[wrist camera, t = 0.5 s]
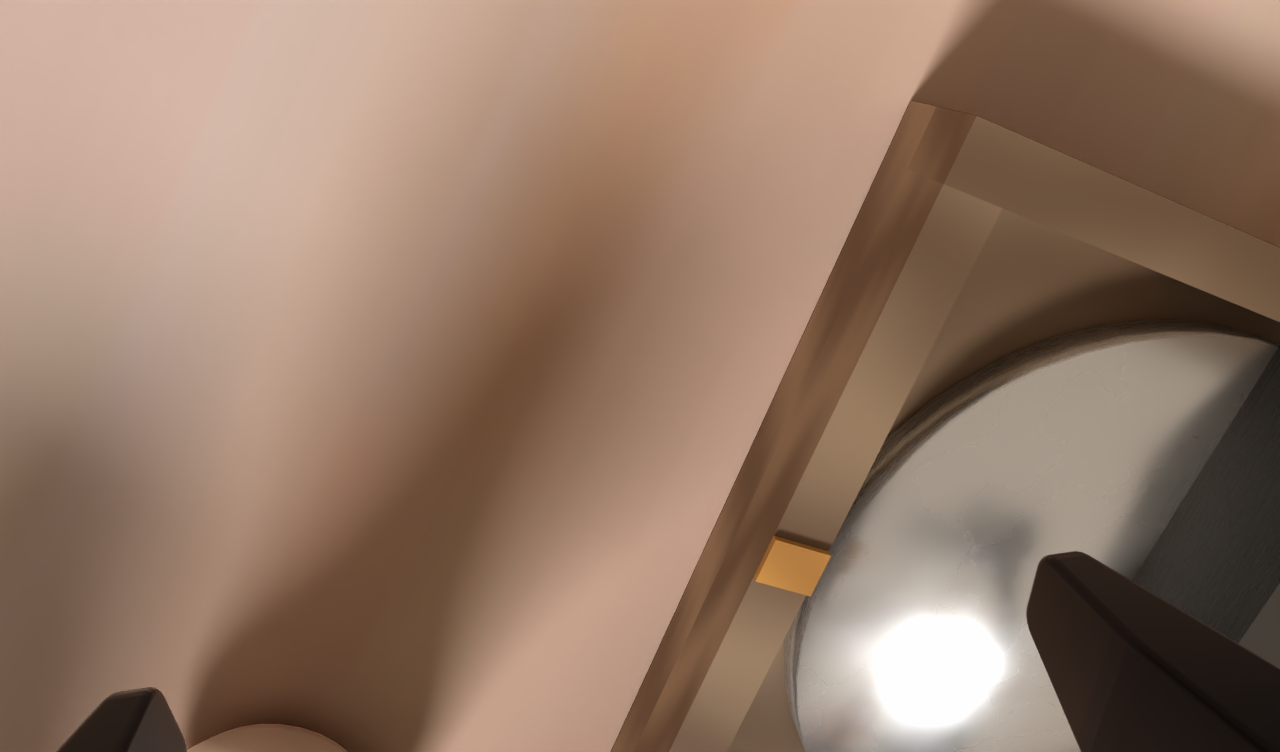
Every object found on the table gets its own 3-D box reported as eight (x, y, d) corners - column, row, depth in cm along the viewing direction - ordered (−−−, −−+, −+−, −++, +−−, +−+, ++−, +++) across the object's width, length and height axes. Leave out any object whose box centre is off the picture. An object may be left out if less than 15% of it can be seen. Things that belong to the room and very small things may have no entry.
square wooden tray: (1156, 907, 35) (1227, 1006, 31) (592, 790, 29) (603, 894, 26) (1544, 373, 28) (1686, 424, 25) (910, 100, 23) (981, 116, 19)
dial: (1170, 896, 32) (1282, 1046, 27) (685, 794, 28) (720, 951, 23) (1506, 435, 27) (1714, 524, 22) (971, 219, 22) (1091, 274, 18)
